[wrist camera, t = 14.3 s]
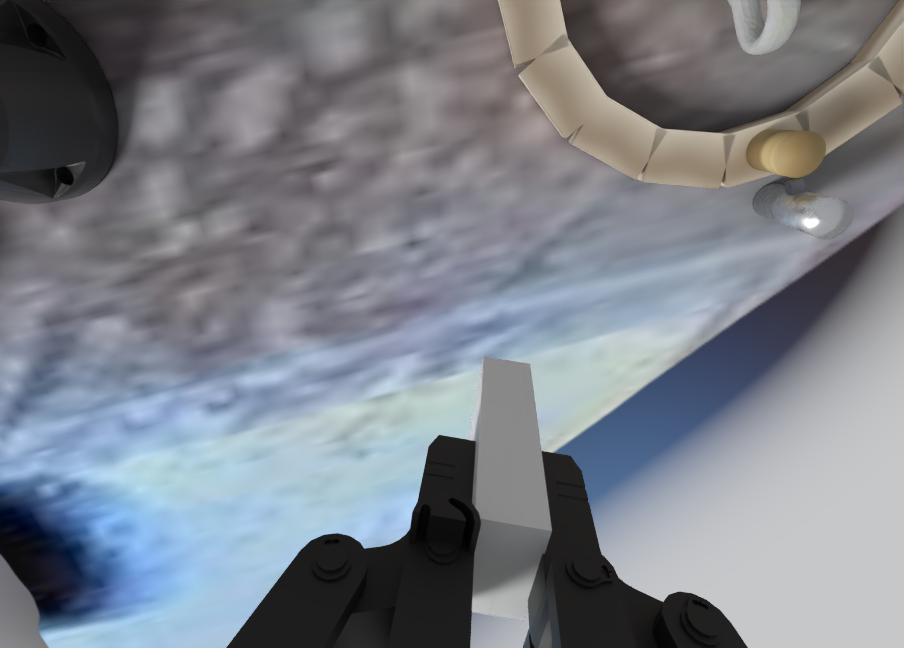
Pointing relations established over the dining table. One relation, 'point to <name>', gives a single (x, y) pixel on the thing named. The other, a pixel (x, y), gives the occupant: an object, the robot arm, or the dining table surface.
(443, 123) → the dining table surface
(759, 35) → the teacup
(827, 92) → the ring
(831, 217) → the shiny cylinder
